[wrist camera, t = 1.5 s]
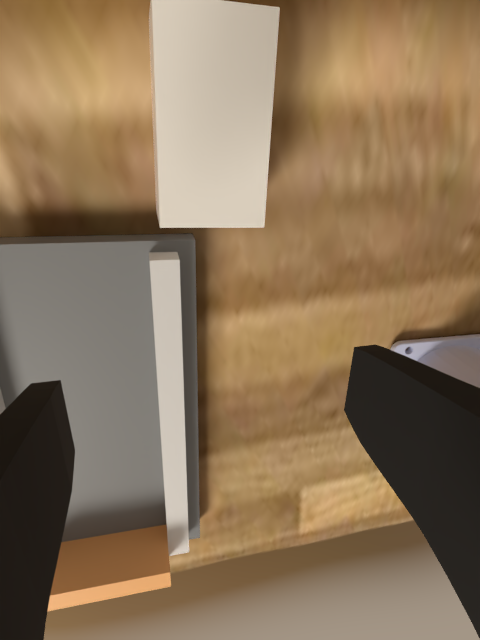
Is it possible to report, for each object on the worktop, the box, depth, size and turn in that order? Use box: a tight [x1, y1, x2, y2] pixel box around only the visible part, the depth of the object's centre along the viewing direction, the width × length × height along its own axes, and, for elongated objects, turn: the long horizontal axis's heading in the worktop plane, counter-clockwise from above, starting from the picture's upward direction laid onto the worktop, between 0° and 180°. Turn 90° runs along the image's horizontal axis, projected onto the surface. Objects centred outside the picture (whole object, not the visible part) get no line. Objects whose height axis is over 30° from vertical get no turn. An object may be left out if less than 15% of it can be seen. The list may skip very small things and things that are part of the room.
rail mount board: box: [0, 233, 200, 611], centre depth 20 cm, size 11×19×4 cm, turn 178°
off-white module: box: [149, 0, 280, 228], centre depth 16 cm, size 4×7×4 cm, turn 177°
